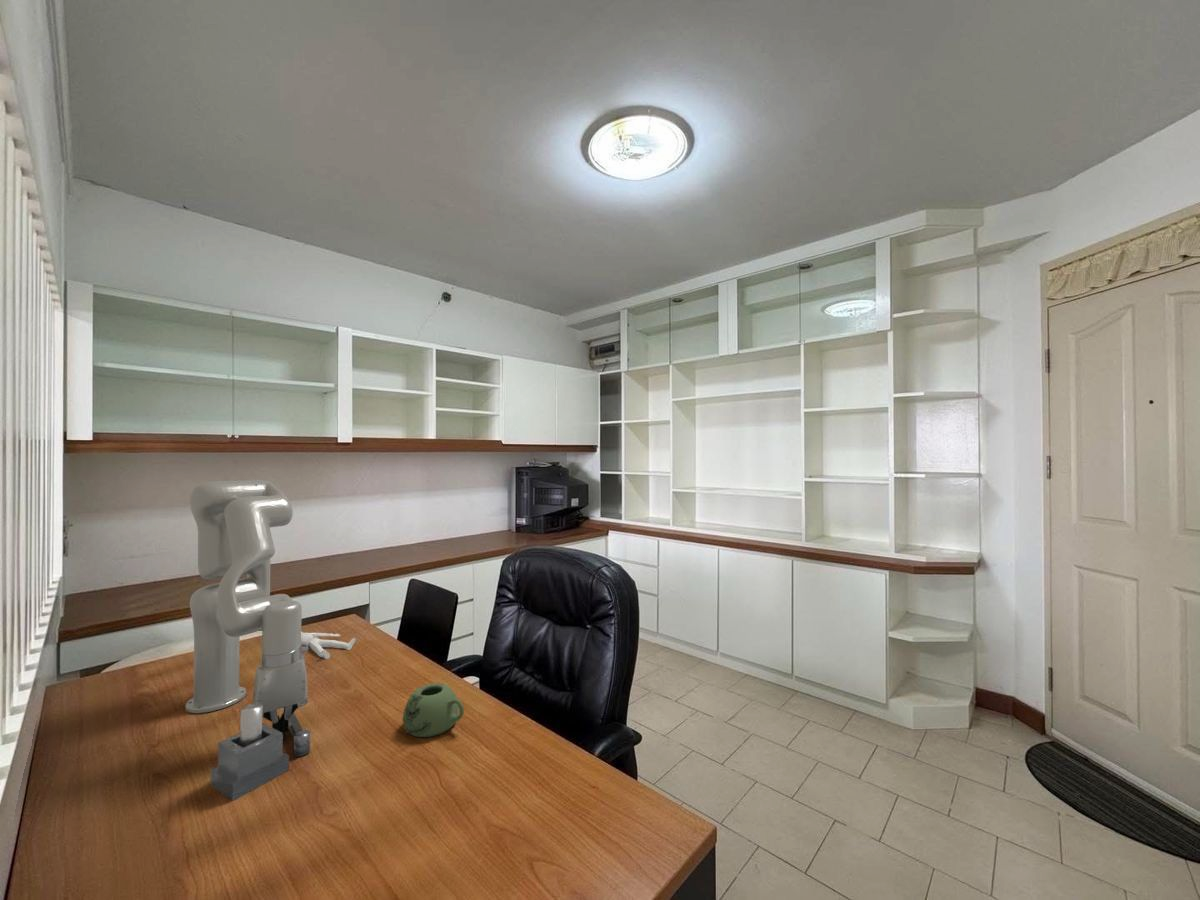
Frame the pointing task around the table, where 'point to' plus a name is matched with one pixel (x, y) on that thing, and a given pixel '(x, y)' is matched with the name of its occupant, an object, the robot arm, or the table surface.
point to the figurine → (323, 643)
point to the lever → (299, 737)
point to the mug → (431, 710)
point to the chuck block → (249, 763)
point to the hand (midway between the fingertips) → (280, 736)
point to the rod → (251, 724)
